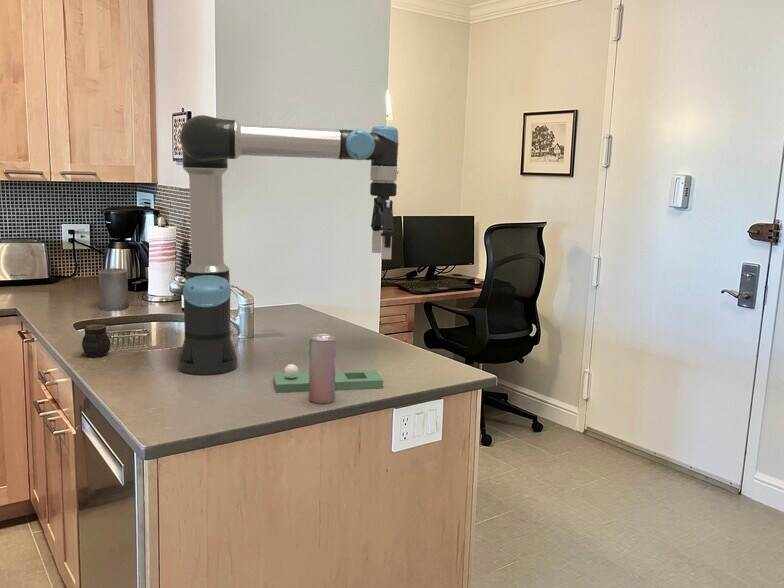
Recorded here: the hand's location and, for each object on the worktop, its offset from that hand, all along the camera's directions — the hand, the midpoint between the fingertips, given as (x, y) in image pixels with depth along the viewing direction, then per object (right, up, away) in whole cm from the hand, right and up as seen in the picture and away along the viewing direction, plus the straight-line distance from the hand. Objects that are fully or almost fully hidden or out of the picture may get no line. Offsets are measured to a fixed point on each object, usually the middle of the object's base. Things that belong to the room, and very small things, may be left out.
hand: (381, 255), depth 204 cm
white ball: (-21, -30, -33) cm, 49 cm away
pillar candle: (-97, -16, +48) cm, 109 cm away
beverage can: (-13, -36, -41) cm, 56 cm away
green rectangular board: (-13, -33, -30) cm, 47 cm away
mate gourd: (-78, -28, -12) cm, 84 cm away
